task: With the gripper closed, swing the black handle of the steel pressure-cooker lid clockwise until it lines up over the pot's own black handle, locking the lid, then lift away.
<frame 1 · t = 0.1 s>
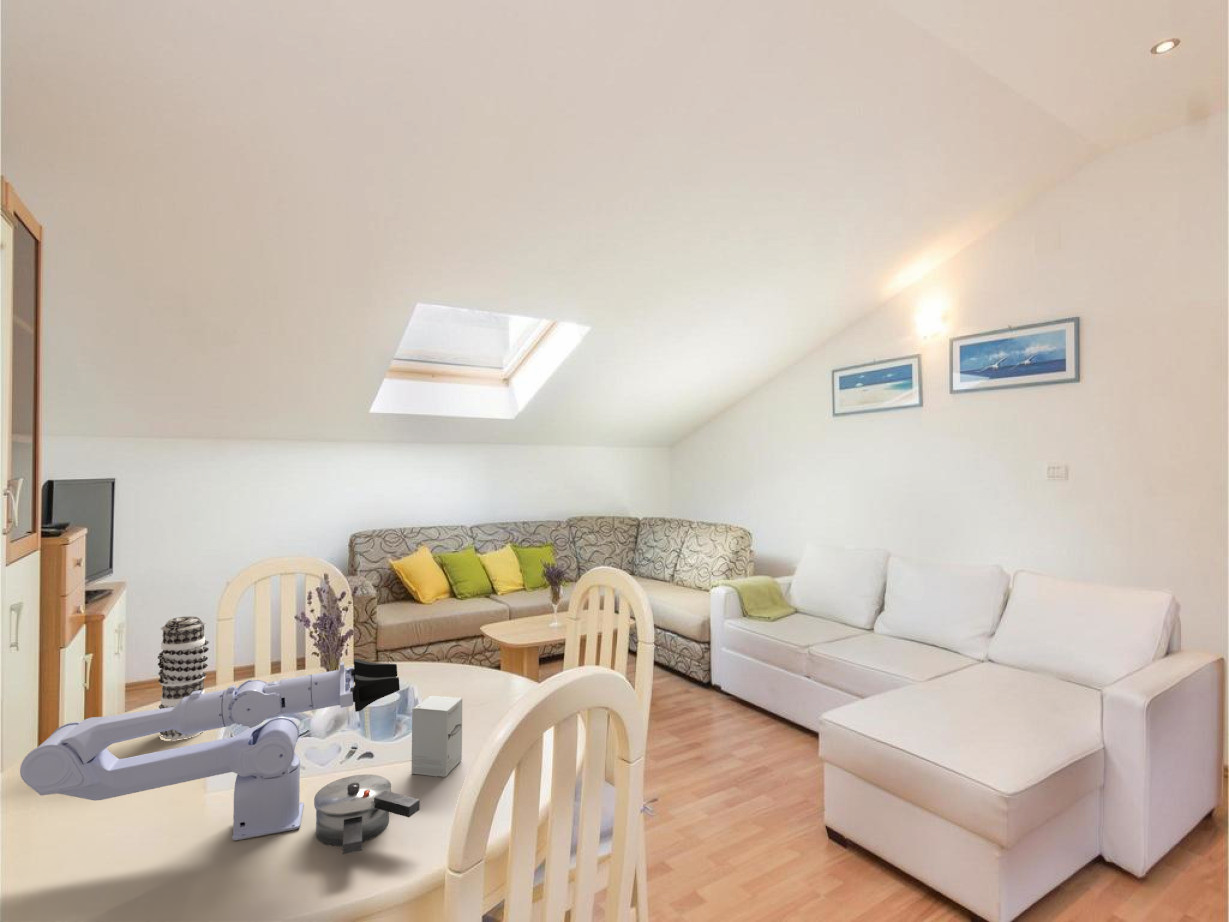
hand: (398, 676, 112), 22 cm above the table, tool horizontal, fingers open, 7 cm apart
decorative candle: (183, 734, 139), on the table
pot: (353, 826, 104), on the table
supplement box: (437, 768, 124), on the table
lid: (369, 795, 103), point 6 cm above the table, hinge at 45.0°
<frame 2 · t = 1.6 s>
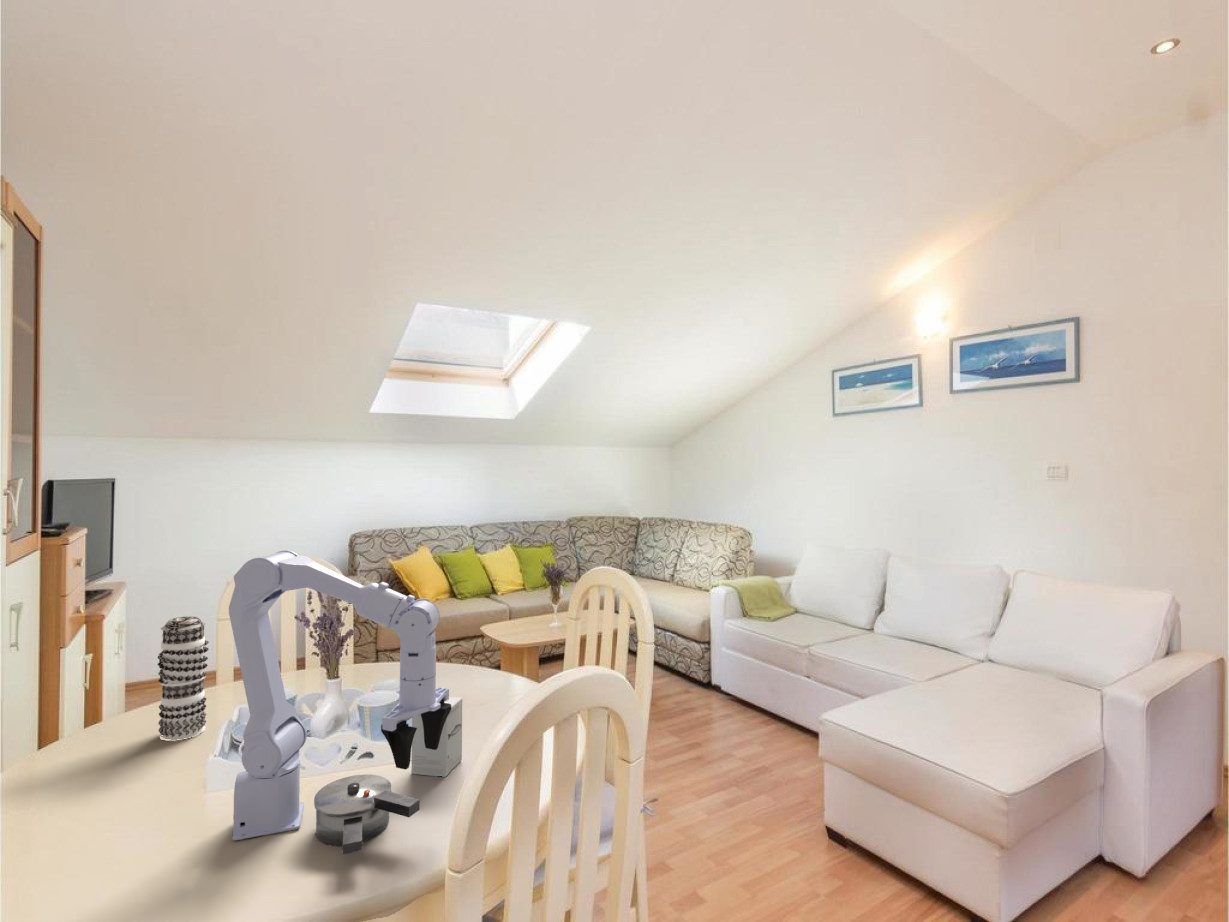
hand: (417, 757, 106), 10 cm above the table, tool pointing down, fingers open, 7 cm apart
nothing on the table moved.
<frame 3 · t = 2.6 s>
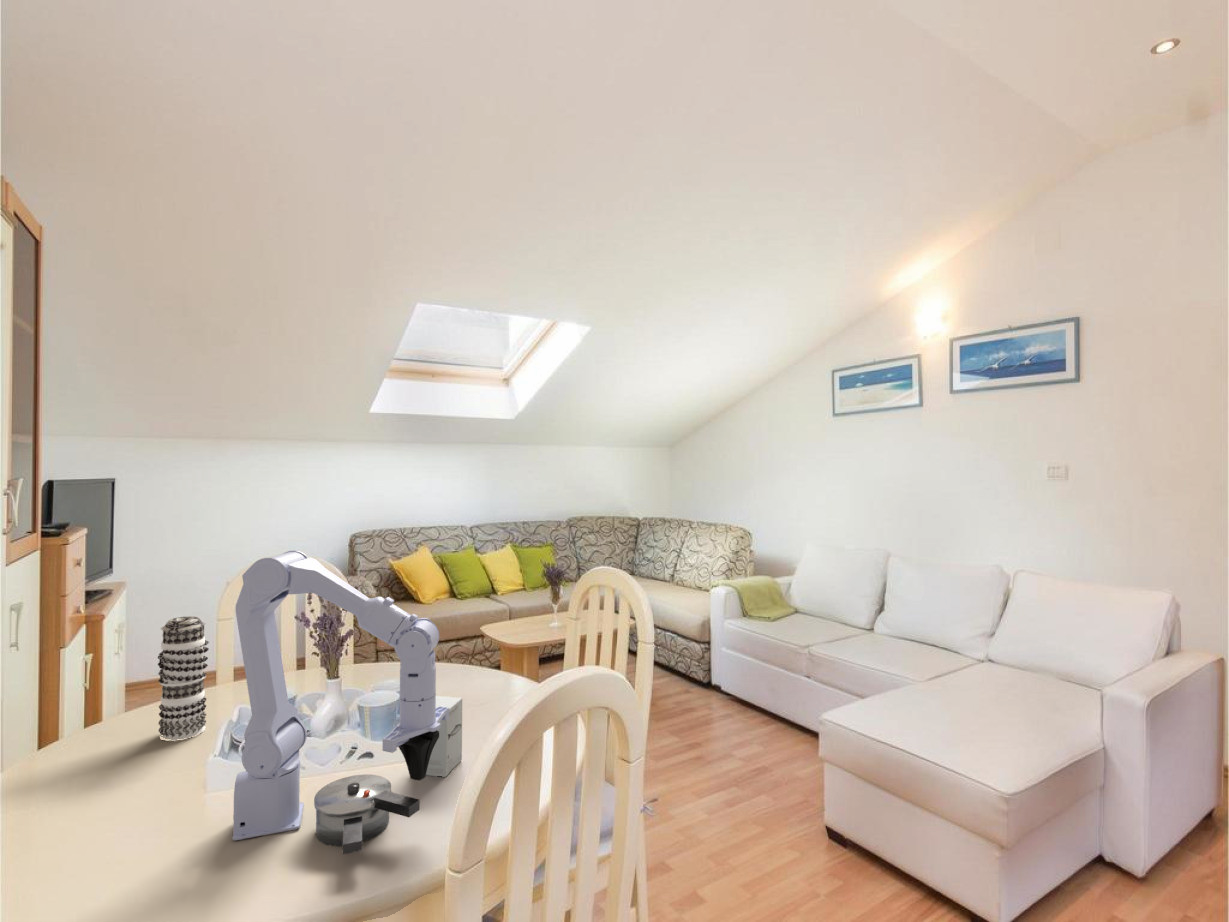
hand: (417, 777, 106), 7 cm above the table, tool pointing down, fingers closed
nothing on the table moved.
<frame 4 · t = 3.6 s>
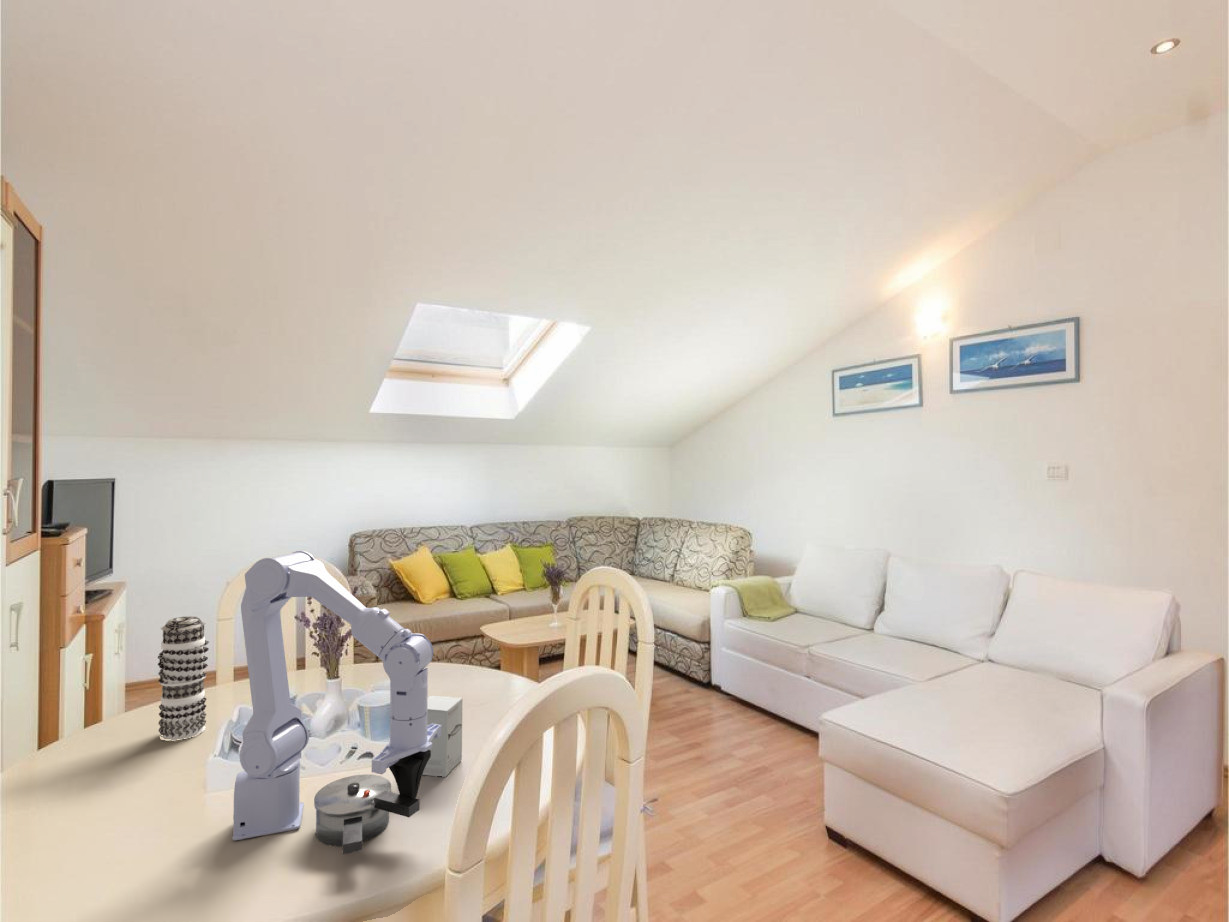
hand: (408, 798, 102), 5 cm above the table, tool pointing down, fingers closed, pressing on lid
lid: (369, 795, 103), point 6 cm above the table, hinge at 45.0°, touching gripper
everything else where it was.
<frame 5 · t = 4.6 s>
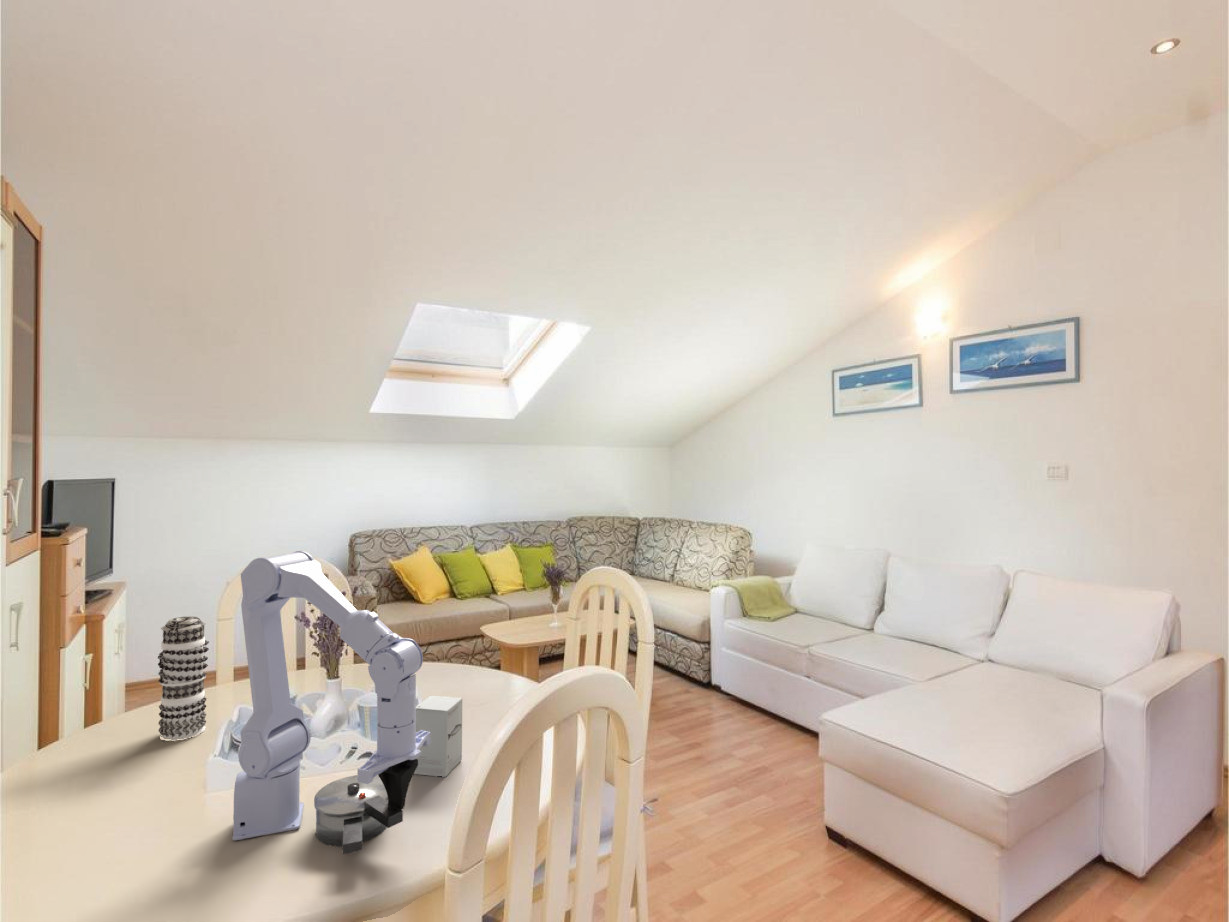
hand: (396, 808, 99), 5 cm above the table, tool pointing down, fingers closed, pressing on lid
lid: (364, 798, 102), point 6 cm above the table, hinge at 28.5°, touching gripper
everything else where it was.
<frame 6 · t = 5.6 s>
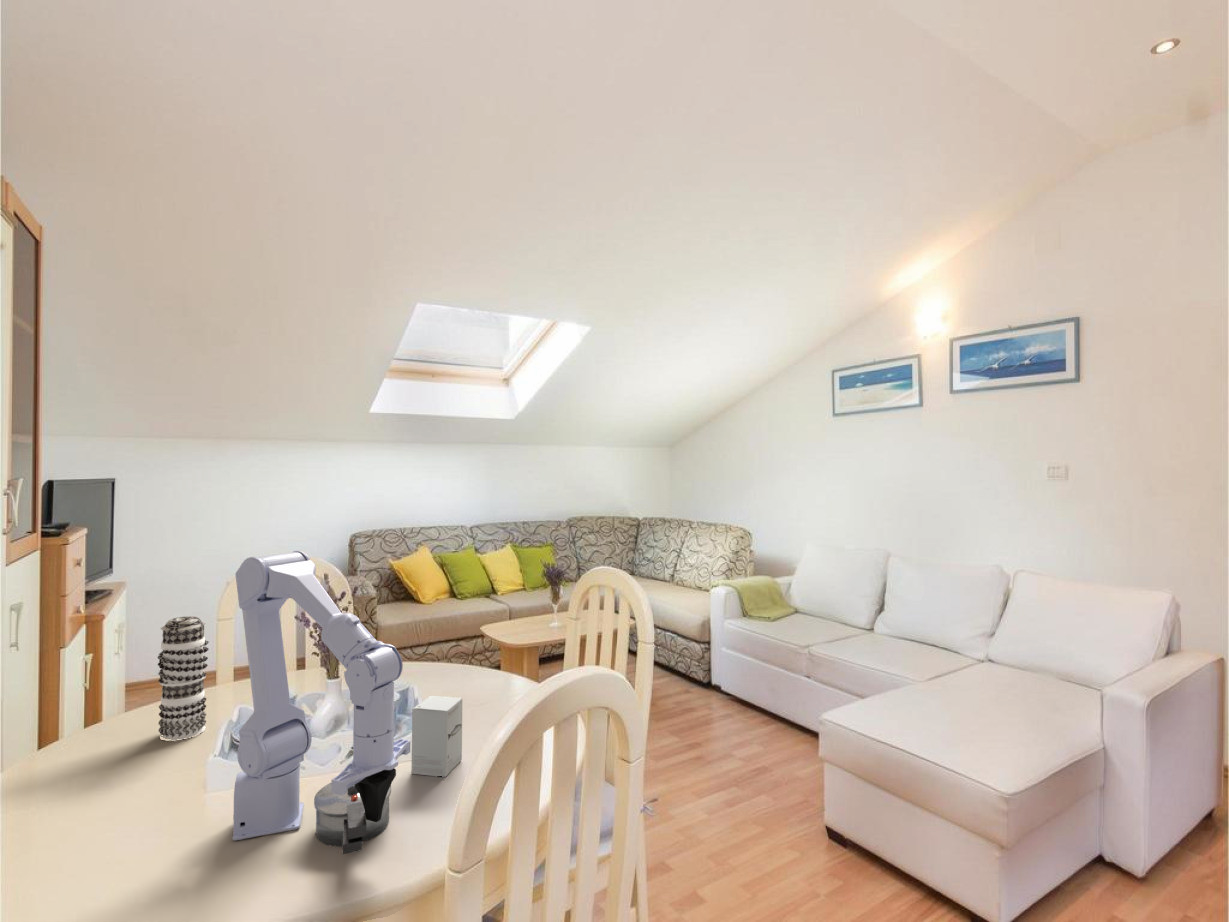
hand: (373, 819, 96), 5 cm above the table, tool pointing down, fingers closed, pressing on lid
lid: (354, 801, 101), point 6 cm above the table, hinge at 3.1°, touching gripper
everything else where it was.
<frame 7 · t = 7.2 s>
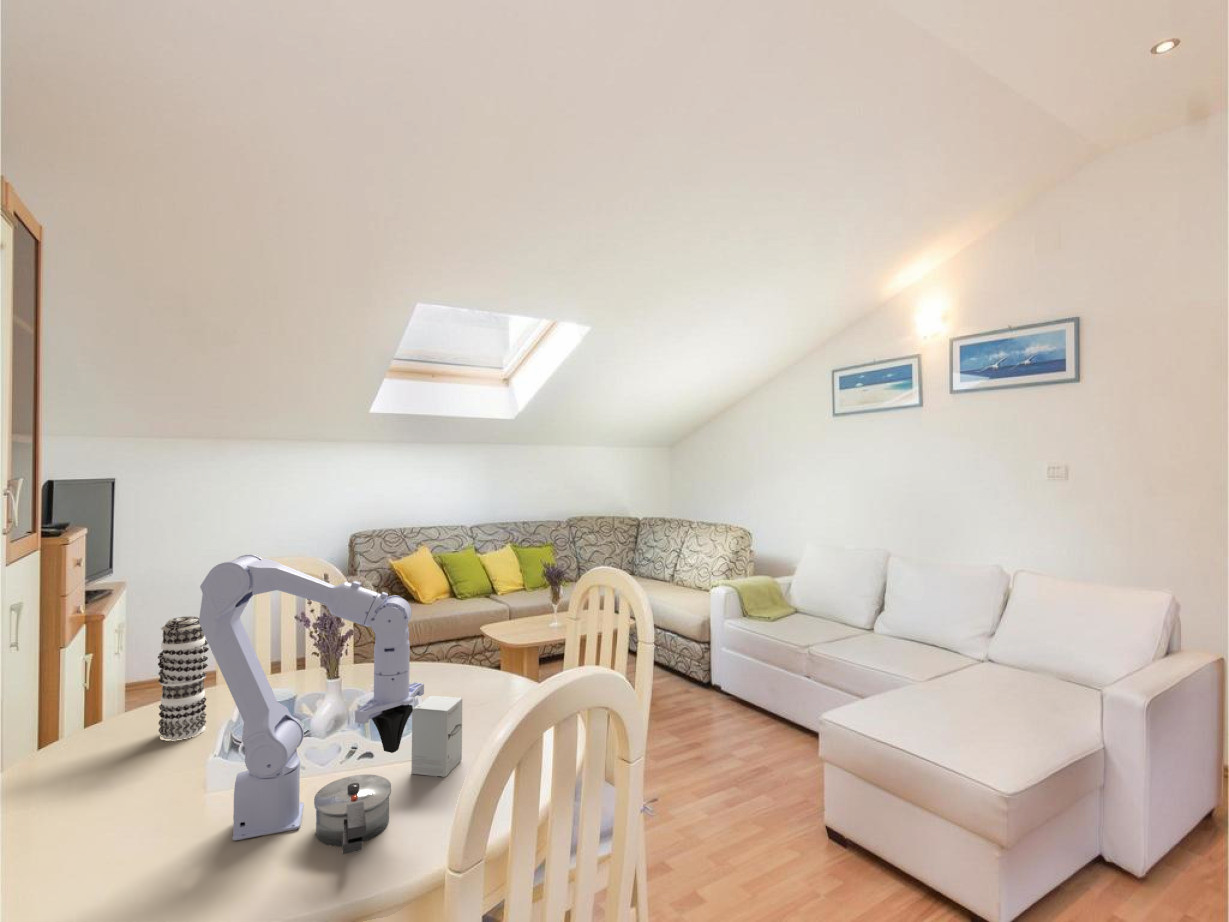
hand: (391, 750, 108), 10 cm above the table, tool pointing down, fingers closed
lid: (354, 801, 101), point 6 cm above the table, hinge at 2.8°
everything else where it was.
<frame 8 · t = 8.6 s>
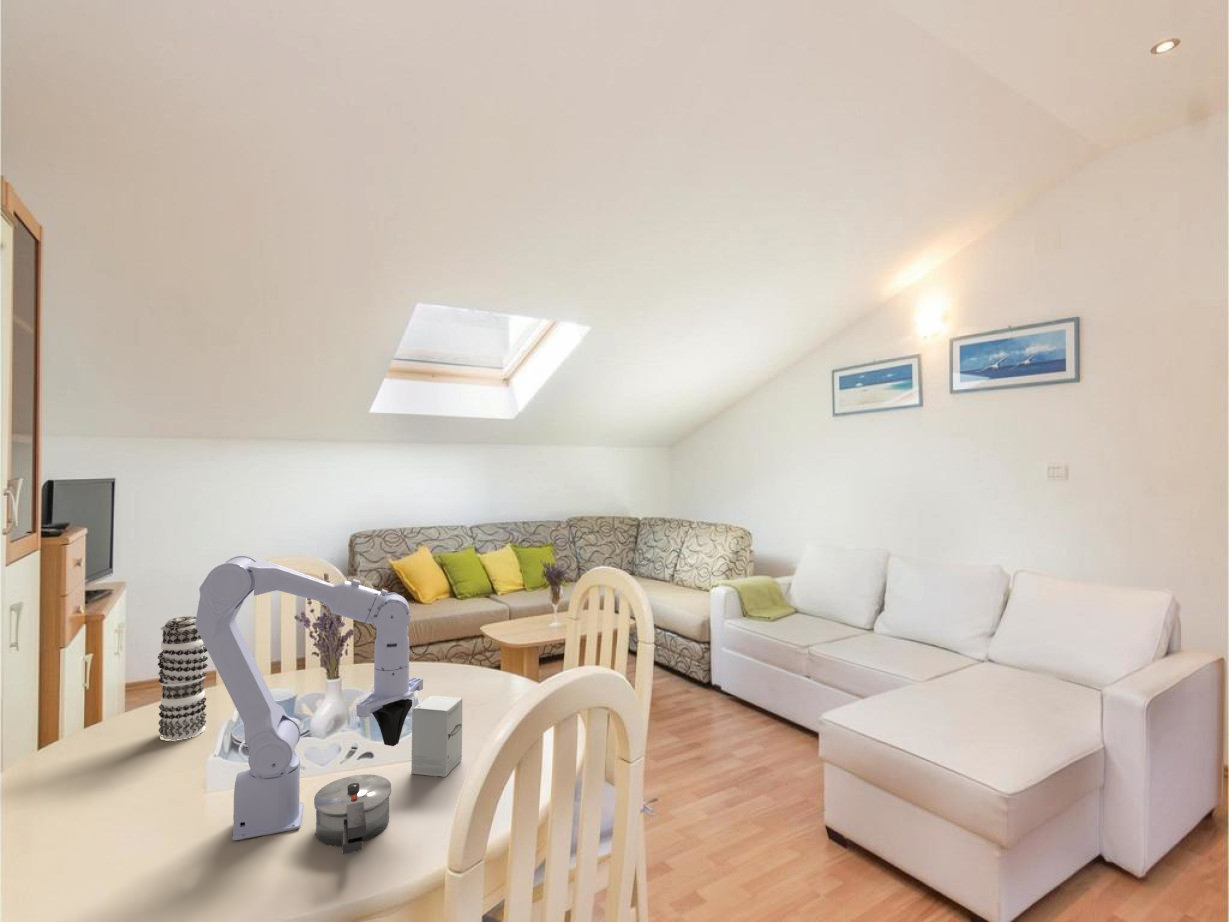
hand: (391, 743, 111), 10 cm above the table, tool pointing down, fingers closed
nothing on the table moved.
at the end: lid at +3° (first picture: +45°) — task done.
